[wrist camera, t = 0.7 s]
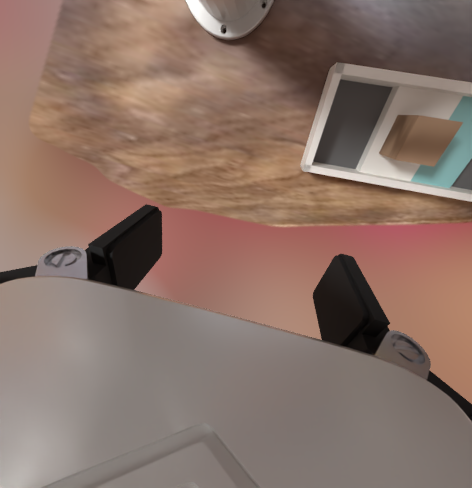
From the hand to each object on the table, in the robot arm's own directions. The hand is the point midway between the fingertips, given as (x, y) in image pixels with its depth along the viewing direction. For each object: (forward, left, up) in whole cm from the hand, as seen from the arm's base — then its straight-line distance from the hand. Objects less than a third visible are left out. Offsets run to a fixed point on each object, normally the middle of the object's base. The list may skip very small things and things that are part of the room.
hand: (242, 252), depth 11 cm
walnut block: (-6, +19, -28) cm, 34 cm away
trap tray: (-6, +21, -29) cm, 37 cm away
